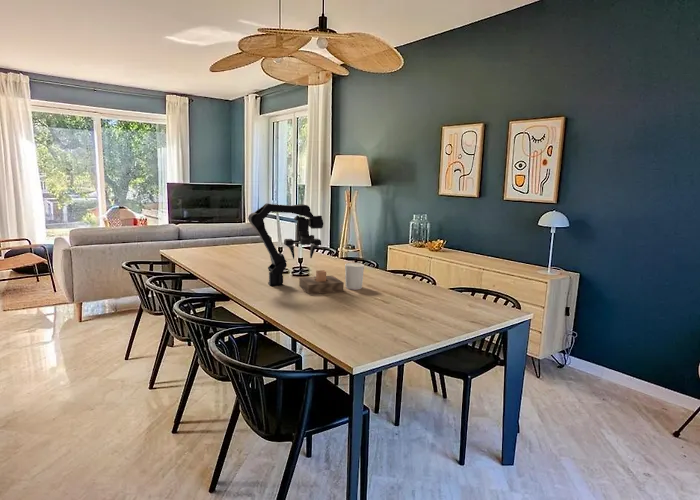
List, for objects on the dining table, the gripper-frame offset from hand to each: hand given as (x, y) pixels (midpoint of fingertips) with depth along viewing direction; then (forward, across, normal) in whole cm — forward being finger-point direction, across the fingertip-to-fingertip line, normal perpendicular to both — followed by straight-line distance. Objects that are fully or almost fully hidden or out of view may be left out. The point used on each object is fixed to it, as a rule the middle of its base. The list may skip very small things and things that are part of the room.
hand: (302, 258), depth 229 cm
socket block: (+13, +6, -15) cm, 21 cm away
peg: (+13, +6, -15) cm, 21 cm away
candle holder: (+13, +23, -16) cm, 31 cm away
